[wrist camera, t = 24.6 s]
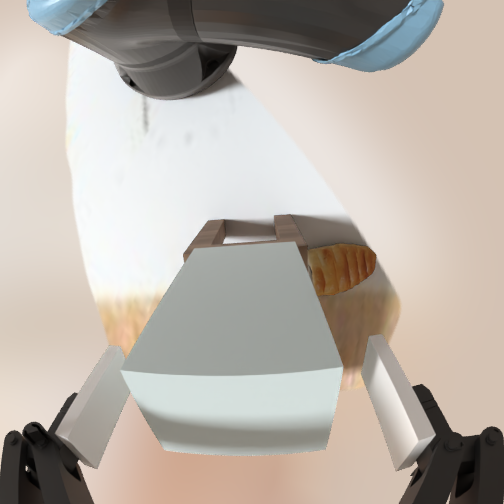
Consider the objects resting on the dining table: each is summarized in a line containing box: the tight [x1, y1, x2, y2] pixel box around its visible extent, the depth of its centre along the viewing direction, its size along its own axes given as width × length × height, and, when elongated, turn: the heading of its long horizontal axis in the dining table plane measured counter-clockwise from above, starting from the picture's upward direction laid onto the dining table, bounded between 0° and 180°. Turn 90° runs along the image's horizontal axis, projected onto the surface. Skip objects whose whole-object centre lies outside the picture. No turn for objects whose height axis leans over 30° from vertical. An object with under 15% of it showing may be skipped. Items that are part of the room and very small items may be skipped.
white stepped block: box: [120, 242, 343, 456], centre depth 19 cm, size 23×8×14 cm, turn 4°
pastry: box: [308, 243, 376, 296], centre depth 33 cm, size 9×7×4 cm
